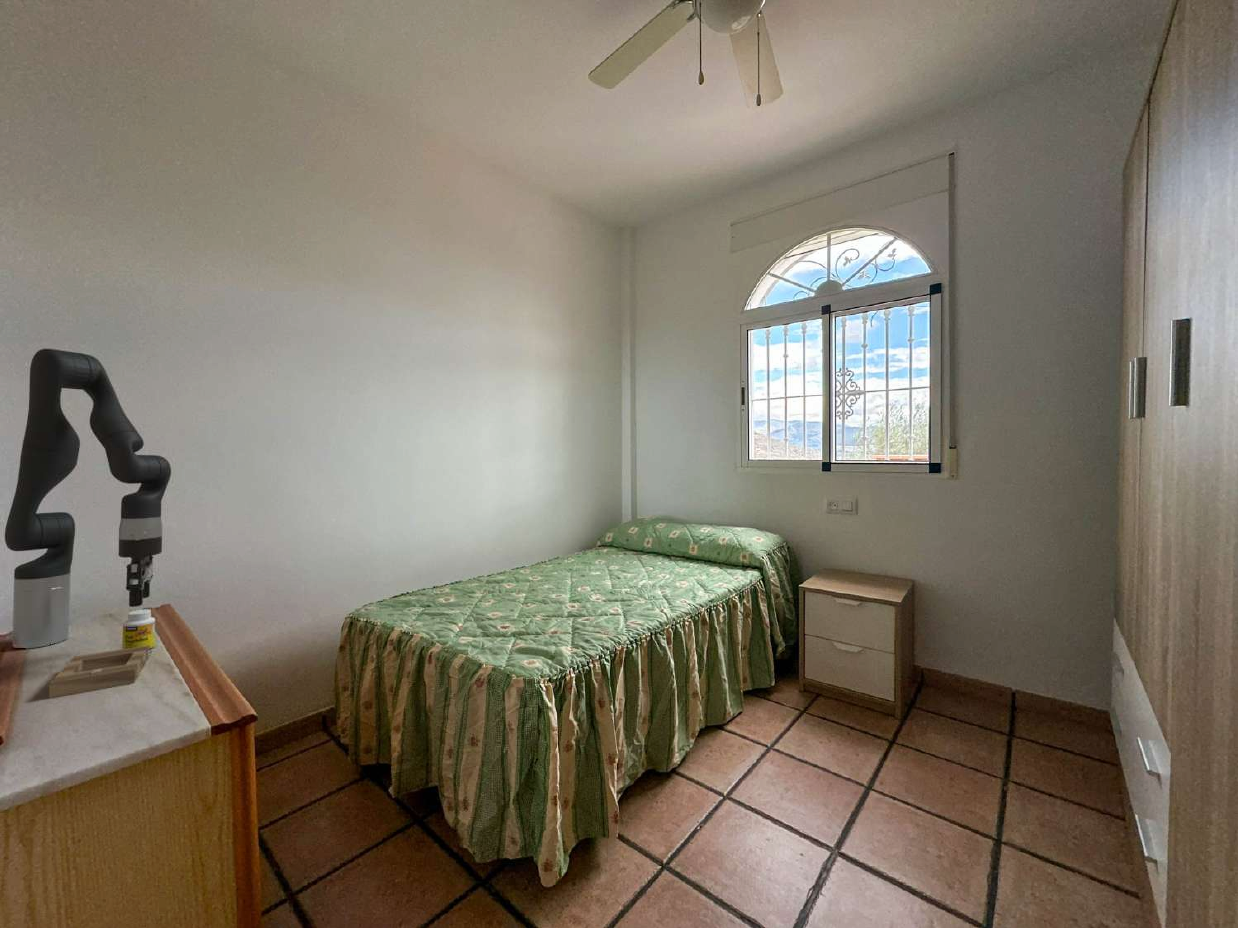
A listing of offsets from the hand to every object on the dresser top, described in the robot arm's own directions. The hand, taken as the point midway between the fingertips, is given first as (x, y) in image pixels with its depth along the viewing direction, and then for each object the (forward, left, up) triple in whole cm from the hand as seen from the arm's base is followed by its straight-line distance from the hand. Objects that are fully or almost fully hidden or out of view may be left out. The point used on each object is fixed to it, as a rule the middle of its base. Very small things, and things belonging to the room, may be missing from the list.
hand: (139, 601), depth 117 cm
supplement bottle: (0, 0, -13) cm, 13 cm away
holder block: (+13, -4, -13) cm, 18 cm away
